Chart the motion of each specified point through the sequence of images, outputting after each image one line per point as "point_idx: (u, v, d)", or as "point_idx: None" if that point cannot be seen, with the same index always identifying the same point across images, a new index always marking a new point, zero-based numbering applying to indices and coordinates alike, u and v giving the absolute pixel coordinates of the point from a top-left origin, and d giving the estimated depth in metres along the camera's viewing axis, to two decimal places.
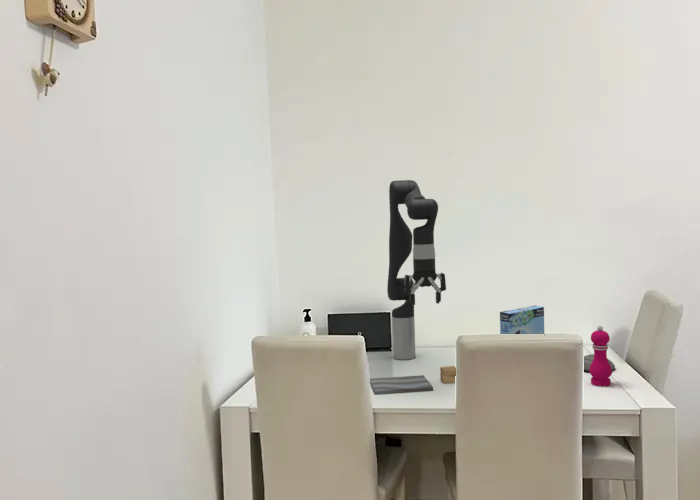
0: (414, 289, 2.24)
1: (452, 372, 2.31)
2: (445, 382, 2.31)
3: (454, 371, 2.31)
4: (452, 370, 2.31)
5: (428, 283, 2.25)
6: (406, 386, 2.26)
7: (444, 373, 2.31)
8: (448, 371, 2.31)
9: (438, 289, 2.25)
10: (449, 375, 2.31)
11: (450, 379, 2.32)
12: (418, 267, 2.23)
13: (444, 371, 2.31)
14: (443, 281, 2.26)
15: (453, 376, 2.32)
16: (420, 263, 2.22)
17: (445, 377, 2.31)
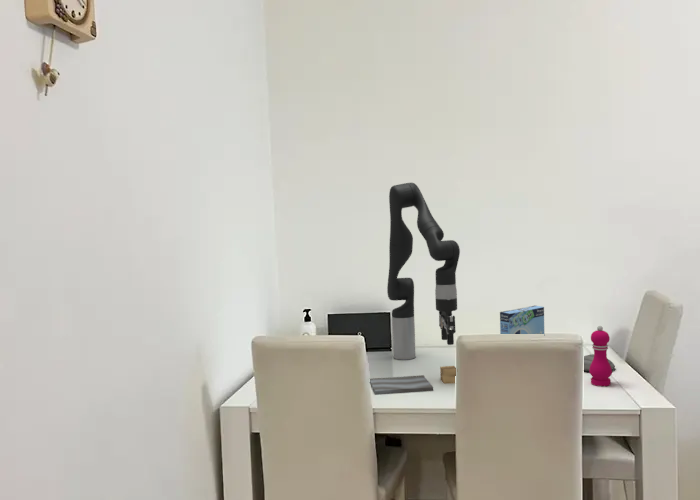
0: None
1: (452, 372, 2.31)
2: (445, 382, 2.31)
3: (454, 371, 2.31)
4: (452, 370, 2.31)
5: None
6: (406, 386, 2.26)
7: (444, 373, 2.31)
8: (448, 371, 2.31)
9: None
10: (449, 375, 2.31)
11: (450, 379, 2.32)
12: (455, 306, 2.30)
13: (444, 371, 2.31)
14: None
15: (453, 376, 2.32)
16: (456, 302, 2.30)
17: (445, 377, 2.31)
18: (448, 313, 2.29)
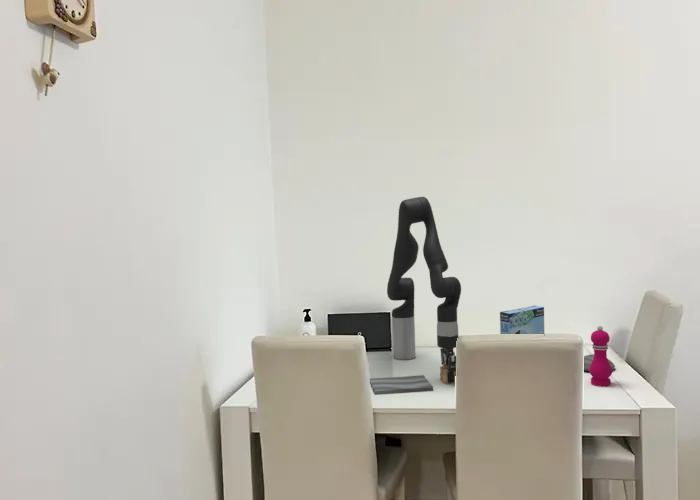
0: None
1: None
2: (445, 382, 2.31)
3: None
4: None
5: None
6: (406, 386, 2.26)
7: (444, 373, 2.31)
8: None
9: None
10: None
11: None
12: None
13: (444, 371, 2.31)
14: None
15: None
16: None
17: (445, 377, 2.31)
18: (449, 350, 2.30)
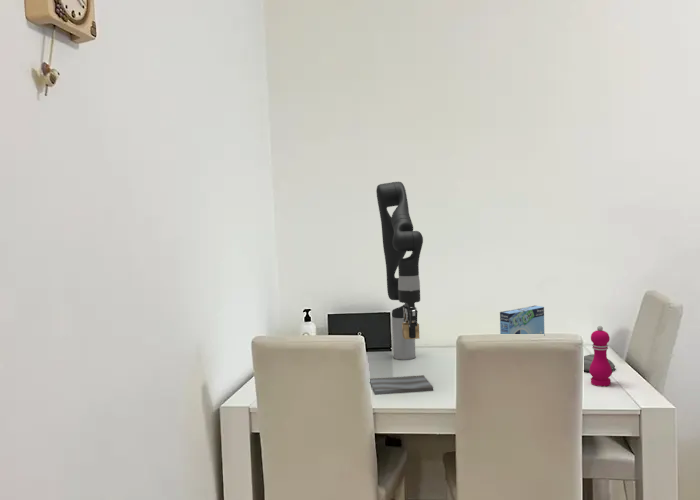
0: None
1: None
2: (406, 337, 2.27)
3: (416, 326, 2.27)
4: None
5: None
6: (406, 386, 2.26)
7: (405, 328, 2.27)
8: None
9: None
10: None
11: None
12: (418, 297, 2.27)
13: (405, 326, 2.27)
14: None
15: None
16: (419, 293, 2.27)
17: (406, 333, 2.27)
18: (411, 305, 2.25)
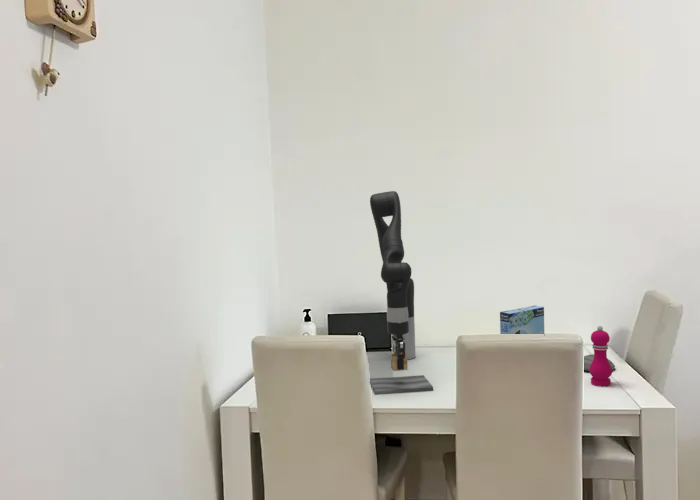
0: None
1: None
2: (395, 369, 2.27)
3: (404, 358, 2.27)
4: None
5: None
6: (406, 386, 2.26)
7: (394, 360, 2.27)
8: None
9: None
10: None
11: None
12: (406, 329, 2.27)
13: (394, 358, 2.27)
14: None
15: None
16: (407, 325, 2.27)
17: (394, 364, 2.27)
18: (399, 336, 2.25)
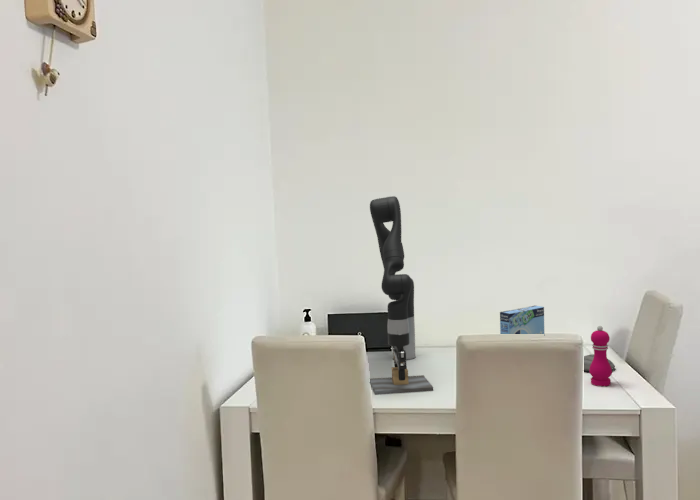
0: None
1: None
2: (395, 383, 2.28)
3: (405, 372, 2.28)
4: None
5: None
6: (406, 386, 2.26)
7: (394, 374, 2.28)
8: None
9: None
10: None
11: None
12: (407, 341, 2.27)
13: (394, 372, 2.28)
14: None
15: None
16: (408, 336, 2.28)
17: (395, 378, 2.28)
18: (400, 348, 2.26)
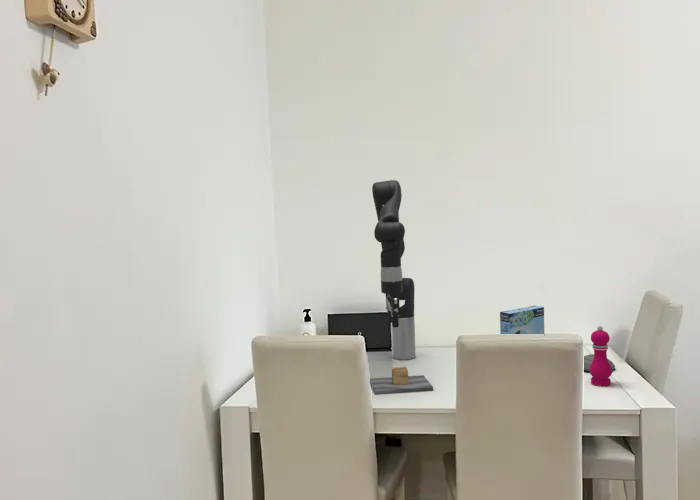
0: (398, 311, 2.27)
1: (403, 373, 2.28)
2: (395, 383, 2.28)
3: (405, 372, 2.28)
4: (403, 371, 2.28)
5: None
6: (406, 386, 2.26)
7: (394, 374, 2.28)
8: (398, 372, 2.28)
9: None
10: (399, 376, 2.28)
11: (400, 380, 2.28)
12: (400, 288, 2.28)
13: (394, 372, 2.28)
14: None
15: (404, 377, 2.28)
16: (401, 284, 2.28)
17: (395, 378, 2.28)
18: (393, 295, 2.27)
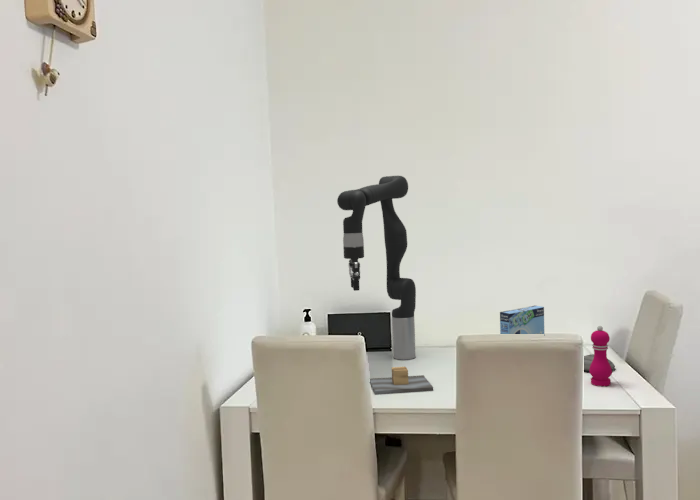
0: None
1: (403, 373, 2.28)
2: (395, 383, 2.28)
3: (405, 372, 2.28)
4: (403, 371, 2.28)
5: None
6: (406, 386, 2.26)
7: (394, 374, 2.28)
8: (398, 372, 2.28)
9: None
10: (399, 376, 2.28)
11: (400, 380, 2.28)
12: (361, 254, 2.40)
13: (394, 372, 2.28)
14: None
15: (404, 377, 2.28)
16: (362, 250, 2.40)
17: (395, 378, 2.28)
18: (354, 260, 2.38)
